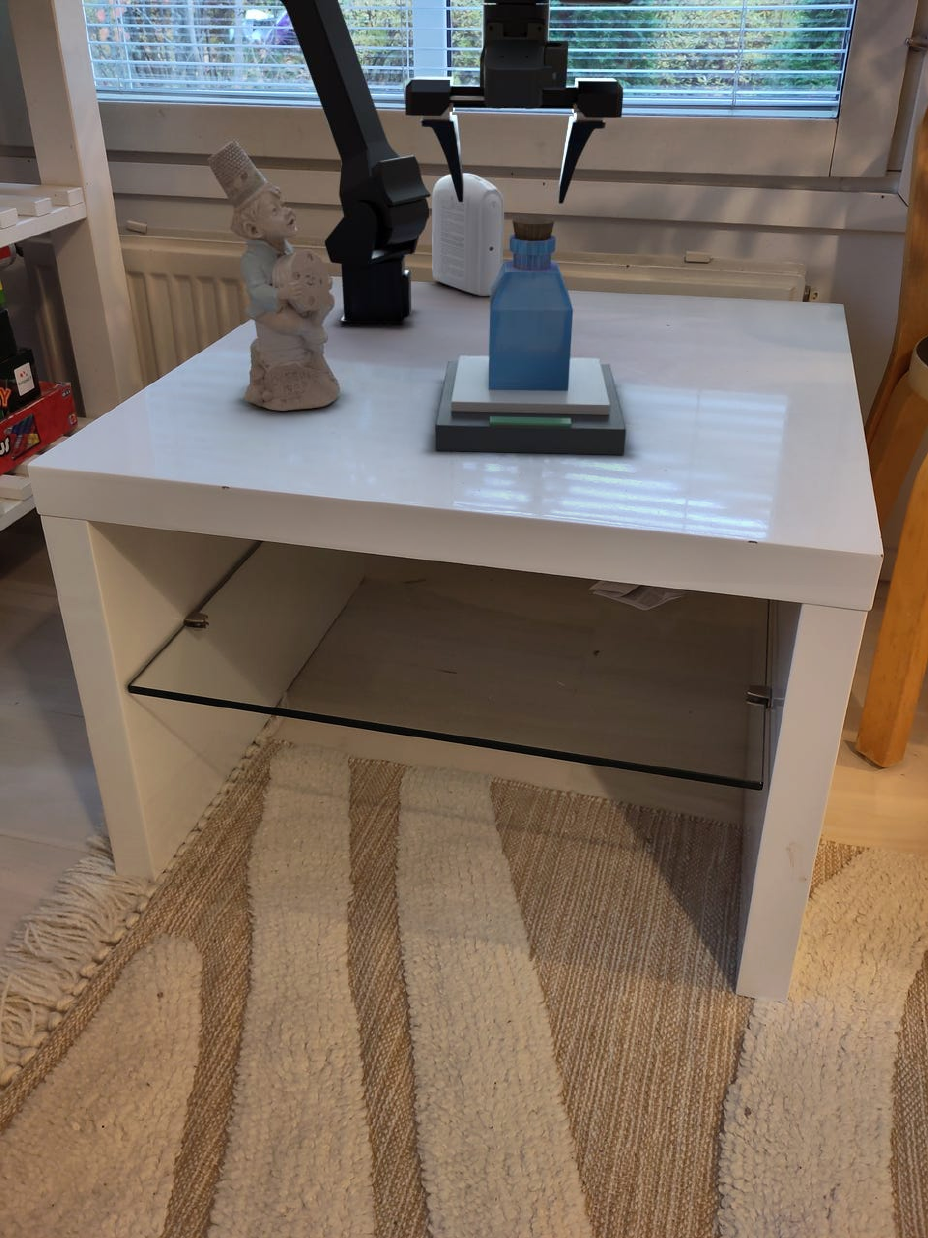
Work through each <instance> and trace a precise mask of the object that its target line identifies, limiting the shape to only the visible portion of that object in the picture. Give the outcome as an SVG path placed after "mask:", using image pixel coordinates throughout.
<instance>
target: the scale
mask: <svg viewBox="0 0 928 1238" xmlns="http://www.w3.org/2000/svg"><path fill="white" fill-rule="evenodd" d="M445 370H446V371H445V375H444V381H443V386H442V391H441V394H440V395H441V396H440V400H439V405H438V410H437V416H436V420H435V425H434V430H435V431H434V432H435V433H434V436H435V438H434V439H435V441H434V442H435V444H434V445H435V447H434V448H435V450H434V451H440V452H441V451H443V452H444V451H445V452H446V451H447V452H483V453H484V452H487V453H529V454H530V453H531V454H572V455H575V454H576V455H613V456H615V455H616V456H617V455H618V456H624V454H625V445H626V437H627V436H626V435H627V428H626V424H625V421H624V416H623V413H622V409H621V404H620V401H619V397H618V393H617V389H616V385H615V382H614V381H615V380H614V377H613V372H612V369H611V365H610V364H608V363H601V359H600V358H599V357H570V368H569V385H568V391H554V390H489V355H463V354H462V355H458V360H448V361H447V366H446V369H445Z"/></svg>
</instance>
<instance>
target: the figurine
mask: <svg viewBox="0 0 928 1238" xmlns="http://www.w3.org/2000/svg"><path fill="white" fill-rule="evenodd" d="M207 163H208V165H209V168H210V169H211V171H212V173H213V175H214V177H215V179H216V180H217V182H218V184H219V185H220V187H221V188H222V191H224V193H225V194H226V196H227V198H228V200H229V202H230V204H231V205H232V207H233V209H232V211H233V215H232V216H231V217H232V218H231V222H230V230H231V231H232V232H233V234H235V235H237V236H238V237H242V238H243V239H247V240H246V242H245V243H246V246H247V248H246V250H245V251H244V252H242V254H241V257H240V267H241V273H242V278H243V281H244V284H245V287H246V288H245V289H246V293H247V295H248V297H249V298H248V299H249V300H250V301H249V303H248V305H247V306H246V308H245V310H244V314H245V316H246V317H247V318H249V319H250V320H252V321H253V322H254V326H255V330H256V337H257V338H255V339H254V340H253V341H252V342H251V343H250V346H249V348H250V365H251V366H250V369H249V374H248V375H249V384H248V385H247V388H246V391H245V394H244V400H245V402H246V403H250V404H255V405H257V406H258V407H261V408H262V407H263V408H265V409H267V410H272V411H277V412H278V411H280V412H285V411H286V412H287V411H293V410H305V409H314V408H316V409H317V408H322V407H325V406H328V405H329V404H331V403H332V402H334V401H335V400H337V398H338V396H339V394H340V391H341V386H340V383H339V380H338V379H337V377H336V376H335V375H334V373H333V371H332V369H331V368H330V366H329V364H328V363H327V361H326V358H325V356H324V354H325V350H324V344H325V343H327V342H328V340H329V334H328V332H327V330H326V329H325V328H324V327H323V326H324V325H323V324H324V322H325V320H326V318H327V316H328V315H329V314H330V312H331V311H333V309H334V307H335V305H336V304H335V297H334V295H333V294H332V293H331V292H330V291H331V290H332V289H333V284H334V281H333V277H332V275H329V274H328V273H329V272H328V269H327V266H326V265H325V263H324V261H323V260H322V258H321V257H320V255H318V254H317V253H316V252H315V251H313V250H310V249H306V248H305V249H301V250H298V251H297V252H296V251H295V249H294V247H293V246H292V244H290V242H289V241H288V240H287V239H289V238H293V237H296V236H297V235H298V229H297V223H296V219H297V217H298V216H297V215H298V214H297V212H296V210H294V209H292V208H291V207H287V206H286V205H285V201H284V200H283V199H282V196H281V195H282V189H281V188H280V187H279V186H276V185H274V184H272V182H271V181H270V180H267V179H266V178H265V177H264V176H263V174H262V173H261V172H260V170H259V169H258V168H257V167H256V165H255V164H254V163H253V162H252V159H251V158H250V157H249V156H248V154H247V153H246V152H245V150H244V149H243V148H242V146H240V144H239V143H238V142H237V141H236V140H235V138H233V139H231V140H229V141H228V142H226V143H225V144H223V145H222V146H220V147H219V148H217V149H216V150H215V152H214V153H212V154H211V155H210V157H208V158H207Z"/></svg>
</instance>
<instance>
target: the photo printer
mask: <svg viewBox="0 0 928 1238" xmlns="http://www.w3.org/2000/svg"><path fill="white" fill-rule="evenodd" d="M463 181H464V194H463V202H459V201H458V198H457V195H456V191H455V188H454V184H453V181H452V177H451V174H447V175H445V176H442V177H441V178H439V179H438V180H437V181H436V183H435V184H434V186H433V190H432V195H431V197H432V199H431V203H432V207H431V208H432V209H431V211H432V212H431V215H432V216H431V218H432V220H431V221H432V225H431V227H432V230H431V231H432V233H431V235H432V237H431V239H432V244H431V245H432V246H431V247H432V248H431V249H432V251H431V253H432V255H431V257H432V258H431V259H432V261H431V262H432V263H431V267H432V268H431V270H432V271H431V272H432V273H431V274H432V278H433V280H435V281H437V282H439V283H442V284H445V285H448V286H450V287H453V288H456V289H458V290H461V291H464V292H467V293H469V294H473V295H476V296H479V297H490V289H491V287H492V285H493V283H494V281H495V279H496V277H497V276H498V274H499V272H500V270H501V268H502V266H503V263H504V262H503V260H504V258H503V257H504V233H505V232H504V230H505V199H504V196H503V193H502V192H501V191H500V190H499V188H497V187H496V186H495V185H494V184H492V182H490V181H489V180H487V179H485V178H483V177H481V176H479V175H477V174H472V173H463Z"/></svg>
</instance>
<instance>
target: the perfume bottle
mask: <svg viewBox="0 0 928 1238" xmlns="http://www.w3.org/2000/svg"><path fill="white" fill-rule="evenodd" d="M511 221H512V226H513V233H514V234H512V235H510V236H509V251H510V252H511V253H512V260H504V262H503V263H502V268H501V270H500V272H499V274H498V276H497V277H496V279H495V281H494V283H493V285H492V287H491V289H490V296H489V336H488V338H489V339H488V340H489V342H488V343H489V344H488V356H489V390H554V391H568V385H569V368H570V358H571V353H572V351H571V348H572V336H573V335H572V332H573V321H574V320H573V316H574V308H573V304H572V302H571V301H572V300H571V297H570V294H569V293H570V292H569V290H568V288H567V285H566V282H565V280H564V277H563V274H562V272H561V269H560V267H559V264H558V261H557V260H552V254H553V253H555V252H556V239H557V237H556V236H555V235H552V233H553V229H554V225H555V222H556V220H555V218H551V217H546V216H533V215H532V216H529V215H527V216H518V217H514V218H513V219H511Z"/></svg>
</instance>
